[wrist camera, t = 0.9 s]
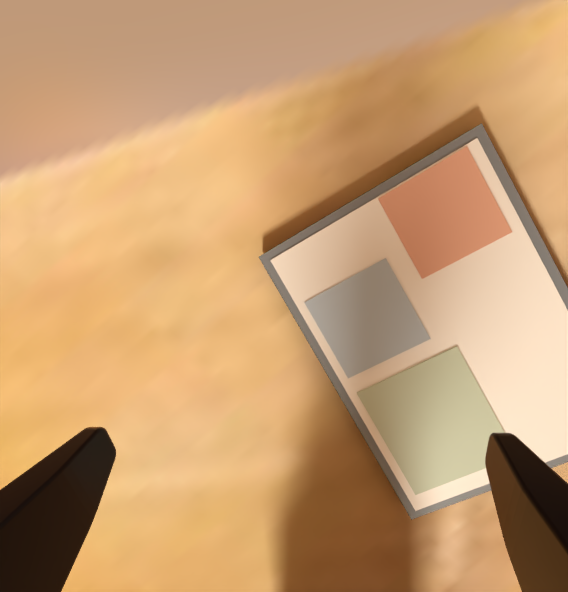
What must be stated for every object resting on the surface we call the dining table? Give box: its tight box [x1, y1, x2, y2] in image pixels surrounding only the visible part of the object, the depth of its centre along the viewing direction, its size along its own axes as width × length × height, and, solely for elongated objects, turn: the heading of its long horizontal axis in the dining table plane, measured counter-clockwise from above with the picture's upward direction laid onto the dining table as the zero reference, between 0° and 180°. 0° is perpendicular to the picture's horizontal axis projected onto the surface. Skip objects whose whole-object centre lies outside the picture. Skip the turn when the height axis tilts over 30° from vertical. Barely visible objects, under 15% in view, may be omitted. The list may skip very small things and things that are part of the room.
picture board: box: [259, 123, 568, 520], centre depth 21 cm, size 18×13×1 cm
